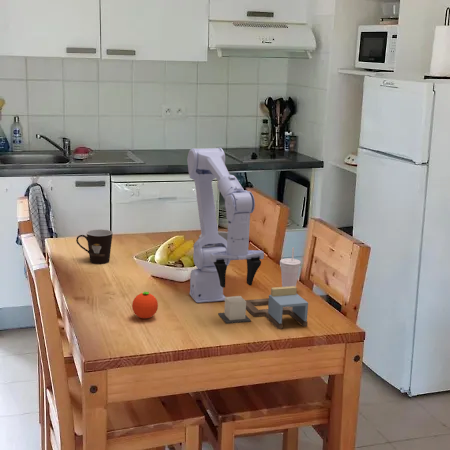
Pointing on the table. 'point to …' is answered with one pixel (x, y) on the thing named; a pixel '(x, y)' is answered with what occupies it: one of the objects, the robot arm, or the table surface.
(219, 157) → the robot arm
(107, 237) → the coffee mug
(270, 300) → the cover
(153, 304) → the clementine
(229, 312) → the block
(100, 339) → the table surface
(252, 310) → the puzzle board
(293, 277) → the smoothie
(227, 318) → the mat
